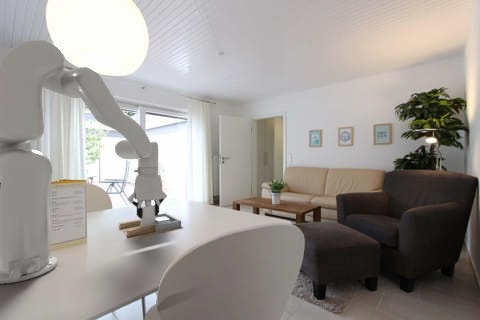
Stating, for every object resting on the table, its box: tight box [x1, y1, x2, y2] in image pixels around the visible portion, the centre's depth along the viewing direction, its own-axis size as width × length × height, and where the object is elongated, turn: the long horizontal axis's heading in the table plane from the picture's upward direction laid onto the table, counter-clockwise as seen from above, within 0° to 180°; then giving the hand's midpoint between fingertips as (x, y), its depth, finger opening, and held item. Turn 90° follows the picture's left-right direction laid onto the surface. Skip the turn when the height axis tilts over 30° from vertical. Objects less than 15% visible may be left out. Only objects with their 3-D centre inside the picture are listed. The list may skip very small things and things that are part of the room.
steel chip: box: [155, 216, 170, 225], centre depth 95 cm, size 6×5×3 cm
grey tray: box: [155, 212, 182, 232], centre depth 95 cm, size 16×10×2 cm, turn 40°
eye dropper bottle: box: [139, 200, 155, 227], centre depth 92 cm, size 4×6×12 cm
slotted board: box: [117, 219, 185, 240], centre depth 92 cm, size 20×20×3 cm
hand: (148, 215), depth 92 cm, fingers closed on eye dropper bottle, 5 cm apart
